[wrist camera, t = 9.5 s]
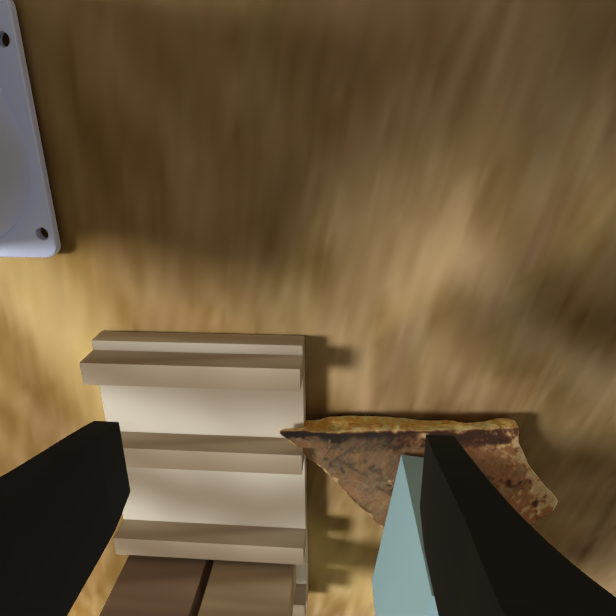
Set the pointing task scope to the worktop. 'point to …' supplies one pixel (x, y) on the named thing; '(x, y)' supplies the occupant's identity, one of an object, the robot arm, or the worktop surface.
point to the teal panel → (404, 550)
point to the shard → (411, 441)
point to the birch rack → (208, 445)
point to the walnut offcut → (159, 587)
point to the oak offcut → (249, 589)
